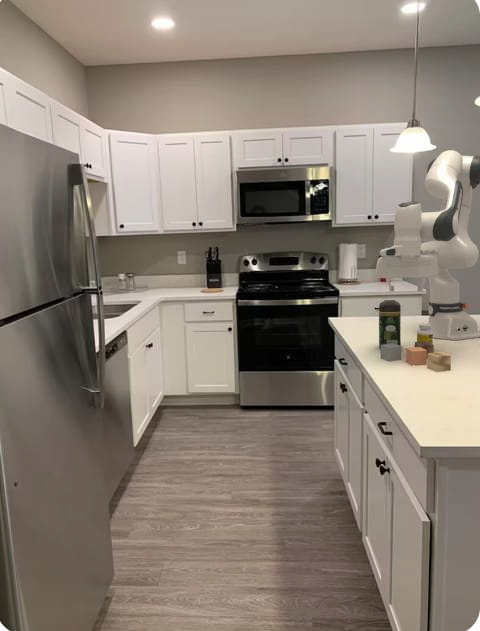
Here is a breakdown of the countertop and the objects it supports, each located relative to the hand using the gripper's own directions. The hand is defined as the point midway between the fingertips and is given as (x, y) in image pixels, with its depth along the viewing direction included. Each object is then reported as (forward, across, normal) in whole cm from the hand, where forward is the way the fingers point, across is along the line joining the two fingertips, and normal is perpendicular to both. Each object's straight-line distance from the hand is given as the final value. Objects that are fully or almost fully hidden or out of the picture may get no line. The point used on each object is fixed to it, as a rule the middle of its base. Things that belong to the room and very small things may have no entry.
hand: (405, 291), depth 167 cm
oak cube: (+24, -9, +12) cm, 29 cm away
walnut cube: (+24, -8, -3) cm, 25 cm away
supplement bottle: (+24, -10, -11) cm, 28 cm away
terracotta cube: (+24, -3, +6) cm, 25 cm away
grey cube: (+24, +4, 0) cm, 25 cm away
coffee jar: (+24, +2, -15) cm, 28 cm away
